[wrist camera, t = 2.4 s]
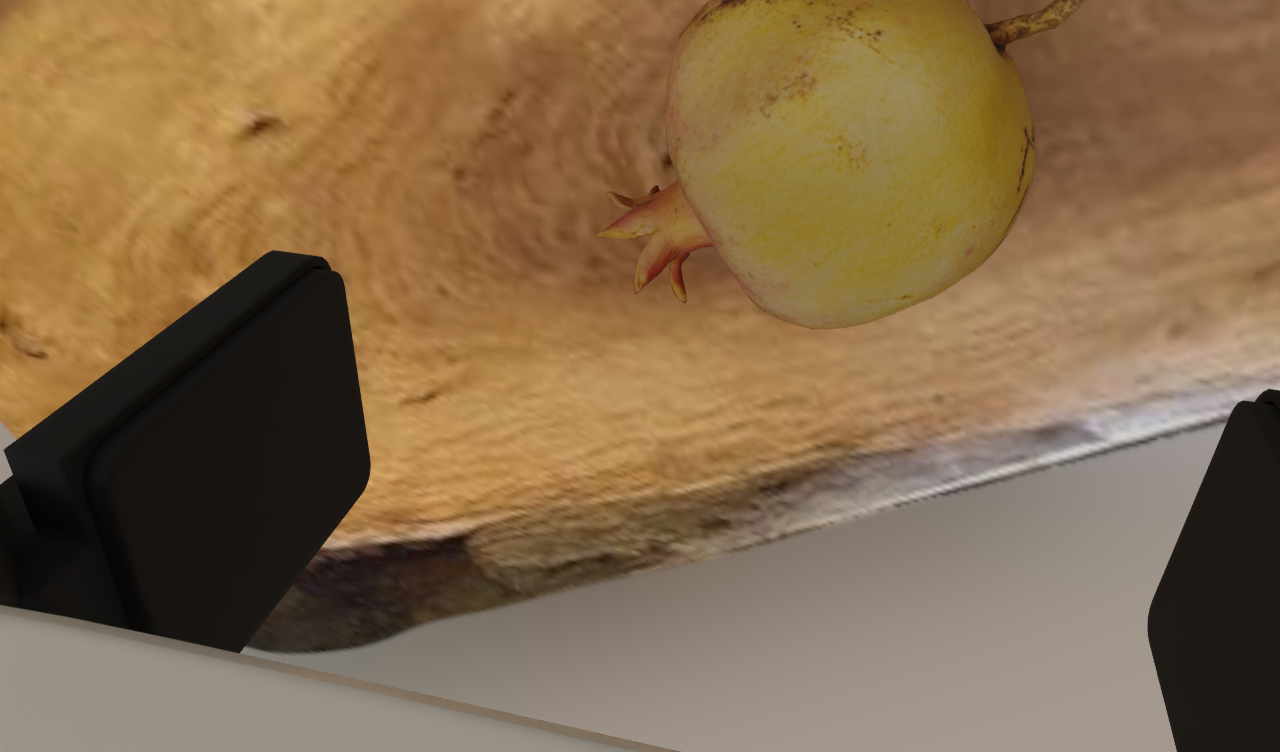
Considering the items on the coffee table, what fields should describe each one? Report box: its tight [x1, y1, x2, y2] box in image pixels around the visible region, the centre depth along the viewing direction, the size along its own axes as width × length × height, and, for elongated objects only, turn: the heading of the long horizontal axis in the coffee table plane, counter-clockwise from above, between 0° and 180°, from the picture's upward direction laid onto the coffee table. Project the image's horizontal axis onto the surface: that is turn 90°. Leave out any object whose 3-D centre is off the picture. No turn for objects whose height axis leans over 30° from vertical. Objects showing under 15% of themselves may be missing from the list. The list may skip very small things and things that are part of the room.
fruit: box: [596, 0, 1083, 329], centre depth 18 cm, size 7×7×10 cm
